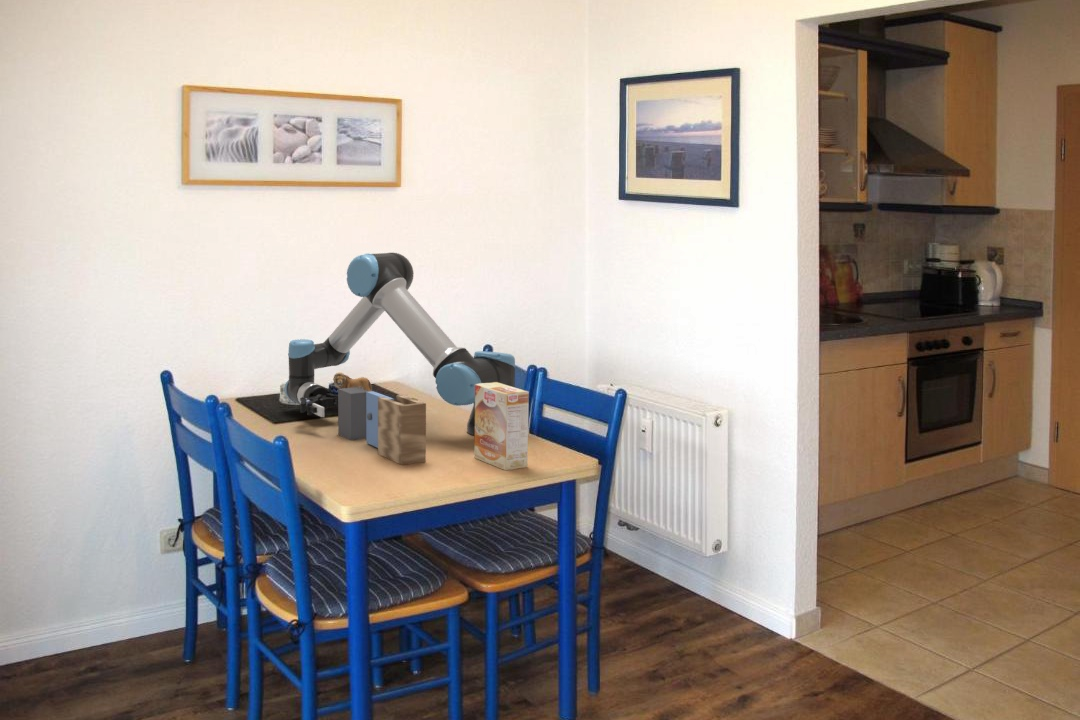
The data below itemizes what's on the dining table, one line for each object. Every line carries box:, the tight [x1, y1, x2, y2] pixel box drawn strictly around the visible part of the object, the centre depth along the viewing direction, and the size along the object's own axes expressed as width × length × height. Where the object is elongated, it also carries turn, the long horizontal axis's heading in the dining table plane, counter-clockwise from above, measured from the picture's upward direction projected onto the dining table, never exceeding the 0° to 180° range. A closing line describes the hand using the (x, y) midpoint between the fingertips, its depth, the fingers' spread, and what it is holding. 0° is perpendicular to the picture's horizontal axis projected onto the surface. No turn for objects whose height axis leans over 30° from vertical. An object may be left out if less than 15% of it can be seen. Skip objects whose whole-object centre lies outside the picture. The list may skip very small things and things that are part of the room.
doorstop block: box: [337, 387, 368, 441], centre depth 300 cm, size 8×6×13 cm
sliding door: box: [365, 390, 395, 449], centre depth 287 cm, size 12×3×14 cm, turn 36°
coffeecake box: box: [473, 382, 530, 471], centre depth 274 cm, size 15×7×20 cm, turn 35°
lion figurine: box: [332, 372, 373, 392], centre depth 354 cm, size 15×5×9 cm, turn 127°
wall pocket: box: [377, 394, 427, 466], centre depth 277 cm, size 13×7×15 cm, turn 36°
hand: (345, 409), depth 303 cm, fingers open, 13 cm apart
